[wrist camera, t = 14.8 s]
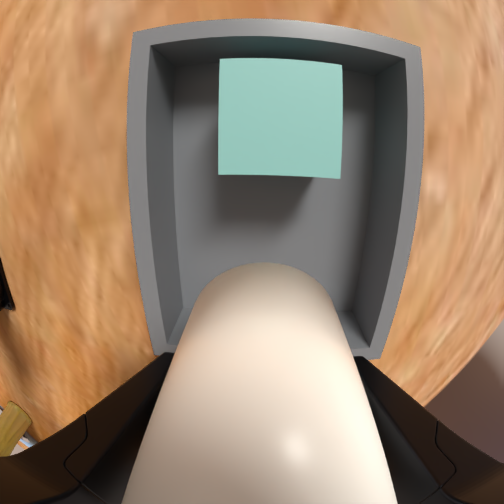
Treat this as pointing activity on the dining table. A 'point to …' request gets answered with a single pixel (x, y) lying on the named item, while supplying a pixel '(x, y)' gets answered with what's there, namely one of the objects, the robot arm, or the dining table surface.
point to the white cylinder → (262, 403)
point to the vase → (12, 427)
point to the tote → (272, 186)
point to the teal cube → (280, 117)
